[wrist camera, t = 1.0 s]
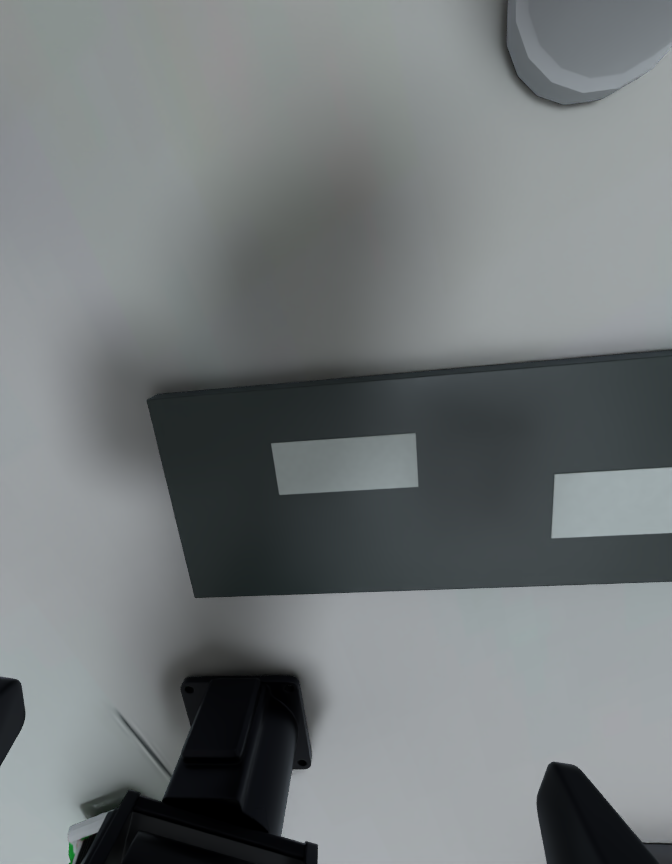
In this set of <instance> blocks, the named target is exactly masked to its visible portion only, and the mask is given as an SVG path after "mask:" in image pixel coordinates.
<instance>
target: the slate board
mask: <svg viewBox="0 0 672 864" xmlns="http://www.w3.org/2000/svg"><path fill="white" fill-rule="evenodd" d="M147 404H148V408H149V412H150V416H151V420H152V424H153V428H154V432H155V436H156V441H157V445H158V449H159V453H160V457H161V461H162V465H163V469H164V473H165V478H166V482H167V486H168V490H169V494H170V498H171V502H172V506H173V510H174V515H175V519H176V523H177V527H178V531H179V535H180V539H181V543H182V547H183V551H184V556H185V560H186V564H187V568H188V572H189V576H190V580H191V584H192V588H193V593H194V597H195V598H206V597H236V596H265V595H294V594H323V593H353V592H382V591H411V590H440V589H470V588H499V587H528V586H557V585H587V584H616V583H645V582H672V350H666V351H654V352H643V353H631V354H619V355H608V356H596V357H584V358H573V359H561V360H549V361H538V362H526V363H514V364H503V365H491V366H479V367H467V368H456V369H444V370H432V371H421V372H409V373H397V374H386V375H374V376H362V377H351V378H339V379H327V380H316V381H304V382H292V383H281V384H269V385H257V386H246V387H234V388H222V389H210V390H199V391H187V392H175V393H164V394H157V395H155V396H153V397H151V398H149V399H148V400H147Z"/></svg>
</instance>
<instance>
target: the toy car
mask: <svg viewBox="0 0 672 864" xmlns="http://www.w3.org/2000/svg"><path fill="white" fill-rule="evenodd" d="M111 811H113V810H111ZM108 812H109V811H108ZM108 812H106V813H105V812H104V813H101V814H99V815H98V816H95V817H91V818H88V819H87V820H85V821H82V822H80V823H77V824H75V825H72V826H70V828H69V831H68V842H69V858H70V861H71V863H69V864H81V862H82V861H83V859H84V858H85V856H86V854H87V852H88V851H89V849H90V847H91V845H92V843H93V841H94V839H95V837H96V835H97V833H98V831H99V829H100V827H101V825H102V823H103V821H104V819H105V817H106V815H107V813H108Z"/></svg>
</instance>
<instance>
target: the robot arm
mask: <svg viewBox="0 0 672 864" xmlns="http://www.w3.org/2000/svg"><path fill="white" fill-rule="evenodd" d="M288 685H291V686H288ZM181 693H182V697H183V700H184V704H185V707H186V711H187V715H188V718H189V722H190V725H191V729H190V731H189V734H188V736H187V739H186V741H185V744H184V746H183V748H182V751H181V755H180V757H179V760H178V762H177V765H176V767H175V770H174V772H173V775H172V777H171V780H170V782H169V785H168V787H167V790H166V792H165V795H164V797H163V800H162V802H161V801H158V800H154V799H151V798H147V797H144V796H140V794H141V793H140V792H136V791H133V790H128V792H127V794H126V795H125V797H124V799H123V801H122V803H121V805H120V806H119V808H115V809H114V810H113V811H109V812H108V813H107V815H106V817H105V819H104V821H103V823H102V825H101V827H100V829H99V831H98V833H97V835H96V837H95V839H94V841H93V843H92V845H91V847H90V849H89V851H88V852H87V854H86V856H85V858H84V859H83V861H82V862H81V864H317V860H318V845H317V844H314V843H311V842H307V841H306V842H305V843H301V842H298V841H295V840H291V839H288V838H284V837H281V834H282V828H283V822H284V815H285V809H286V803H287V797H288V791H289V785H290V779H291V773H292V769H307V768H309V767H310V766H311V759H312V754H311V748H310V742H309V736H308V730H307V724H306V718H305V712H304V706H303V700H302V694H301V688H300V682H299V680H298V679H297V678H296V677H294V676H291V675H271V676H202V677H187V678H185V679H184V681H183V683H182V685H181ZM24 720H25V706H24V699H23V692H22V685H21V683H20V681H19V680H17V679H12V678H6V677H0V766H1V764H2V762H3V760H4V759H5V757H6V755H7V753H8V752H9V750H10V748H11V746H12V745H13V743H14V741H15V740H16V738H17V736H18V734H19V733H20V731H21V729H22V726H23V724H24ZM537 813H538V818H539V824H540V829H541V834H542V840H543V845H544V850H545V856H546V861H547V864H660V863H659V862H658V861H657V859H656V858H655V857H654V856H653V855H652V853H651V852H650V851H649V850H648V849H647V848H646V846H645V845H644V844H643V843H642V842H641V840H640V839H639V838H638V837H637V836H636V835H635V833H634V832H633V831H632V830H631V829H630V827H629V826H628V825H627V824H626V823H625V822H624V820H623V819H622V818H621V817H620V816H619V814H618V813H617V812H616V811H615V810H614V809H613V807H612V806H611V805H610V804H609V803H608V801H607V800H606V799H605V798H604V797H603V795H602V794H601V793H600V792H599V791H598V790H597V788H596V787H595V786H594V785H593V784H592V782H591V781H590V780H589V779H588V778H587V777H586V775H585V774H584V773H583V772H582V771H581V770H580V769H579V768H578V767H576V766H575V765H572V764H565V763H559V762H552V763H550V764H549V765H548V767H547V769H546V772H545V775H544V778H543V780H542V783H541V786H540V789H539V791H538V795H537Z"/></svg>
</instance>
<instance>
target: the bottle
mask: <svg viewBox="0 0 672 864" xmlns="http://www.w3.org/2000/svg"><path fill="white" fill-rule="evenodd" d="M507 47H508V50H509V53H510V55H511V58H512V61H513V64H514V67H515V70H516V73H517V75H518V77H519V78H520V79H521V80H522V81H523V82H524V83H525V84H526V85H527V86H528V87H529V88H530V89H531V90H532V91H533V92H534V93H535V94H536V95H537V96H539V97H542V98H545V99H548V100H551V101H554V102H557V103H560V104H563V105H567V104H574V103H581V102H589V101H596V100H600V99H603V98H605V97H606V96H608V95H610V94H612V93H613V92H615V91H617V90H619V89H620V88H622V87H624V86H626V85H627V84H629V83H631V82H633V81H634V80H636V79H638V78H639V77H641V76H642V75H644V74H645V73H647V72H648V71H650V70H651V69H653V68H654V67H655V65H656V64H657V63H658V62H659V61H660V60H661V59H662V57H663V56H664V55H665V54H666V53H667V52H668V51H669V50H670V48H671V47H672V0H508V9H507Z"/></svg>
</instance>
